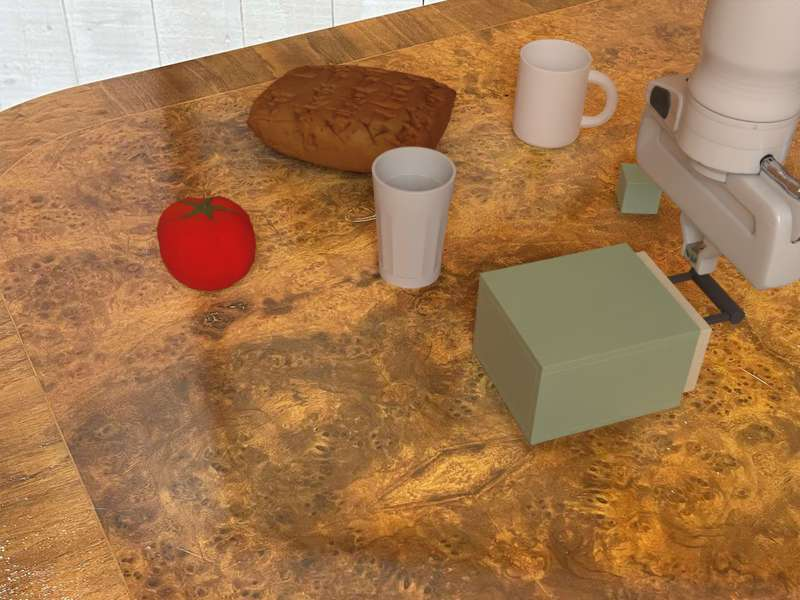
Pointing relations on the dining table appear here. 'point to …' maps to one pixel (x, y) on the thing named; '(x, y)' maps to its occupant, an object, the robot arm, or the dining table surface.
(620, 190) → the block
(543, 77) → the mug
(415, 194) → the cup
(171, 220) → the tomato
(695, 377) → the drawer
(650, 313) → the cabinet
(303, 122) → the brown bread loaf
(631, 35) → the dining table surface
